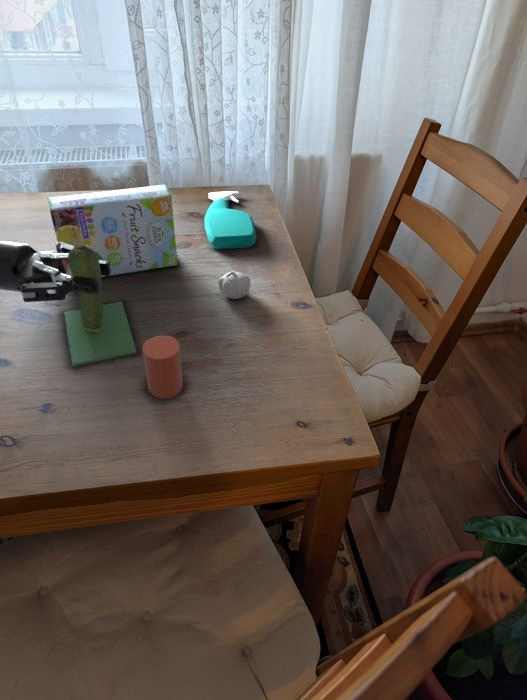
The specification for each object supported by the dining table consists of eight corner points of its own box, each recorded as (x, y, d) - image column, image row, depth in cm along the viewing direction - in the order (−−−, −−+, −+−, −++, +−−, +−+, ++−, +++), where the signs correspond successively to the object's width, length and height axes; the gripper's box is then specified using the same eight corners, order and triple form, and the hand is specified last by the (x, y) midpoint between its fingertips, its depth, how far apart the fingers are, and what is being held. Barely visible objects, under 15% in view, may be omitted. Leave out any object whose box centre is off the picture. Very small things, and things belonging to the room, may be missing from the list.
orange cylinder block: (173, 402, 77) (169, 363, 72) (141, 393, 78) (135, 353, 73) (188, 379, 81) (185, 340, 76) (158, 370, 82) (153, 331, 77)
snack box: (171, 252, 108) (165, 182, 98) (177, 266, 104) (172, 195, 94) (64, 268, 102) (46, 195, 92) (67, 283, 98) (48, 210, 88)
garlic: (220, 305, 95) (220, 281, 92) (216, 288, 99) (216, 264, 96) (253, 302, 96) (253, 278, 93) (247, 285, 100) (248, 262, 97)
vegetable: (94, 319, 90) (72, 213, 76) (116, 326, 89) (98, 219, 75) (79, 335, 86) (53, 226, 73) (101, 342, 86) (80, 233, 72)
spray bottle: (208, 250, 109) (199, 199, 127) (259, 248, 111) (243, 198, 129) (207, 238, 107) (199, 187, 125) (260, 235, 109) (244, 186, 127)
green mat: (136, 353, 85) (136, 350, 84) (72, 366, 82) (72, 364, 81) (122, 304, 94) (122, 301, 94) (64, 314, 91) (64, 311, 91)
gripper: (-36, 269, 73) (82, 283, 72) (13, 221, 84) (116, 233, 83) (-20, 311, 78) (91, 325, 77) (25, 261, 89) (122, 272, 88)
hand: (103, 277), depth 80 cm, fingers closed on vegetable, 4 cm apart
